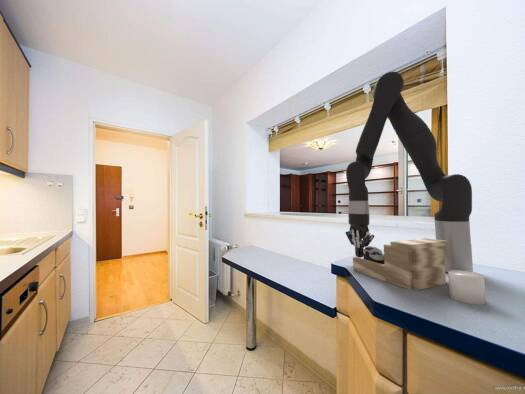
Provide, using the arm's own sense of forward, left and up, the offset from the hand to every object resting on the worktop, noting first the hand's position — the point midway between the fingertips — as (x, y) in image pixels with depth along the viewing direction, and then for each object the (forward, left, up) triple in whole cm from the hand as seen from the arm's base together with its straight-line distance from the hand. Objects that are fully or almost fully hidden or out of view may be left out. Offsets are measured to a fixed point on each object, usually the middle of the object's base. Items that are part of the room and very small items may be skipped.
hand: (359, 256), depth 85 cm
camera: (0, +9, -3) cm, 10 cm away
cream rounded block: (+1, +34, -3) cm, 34 cm away
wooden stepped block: (0, +15, -3) cm, 15 cm away
